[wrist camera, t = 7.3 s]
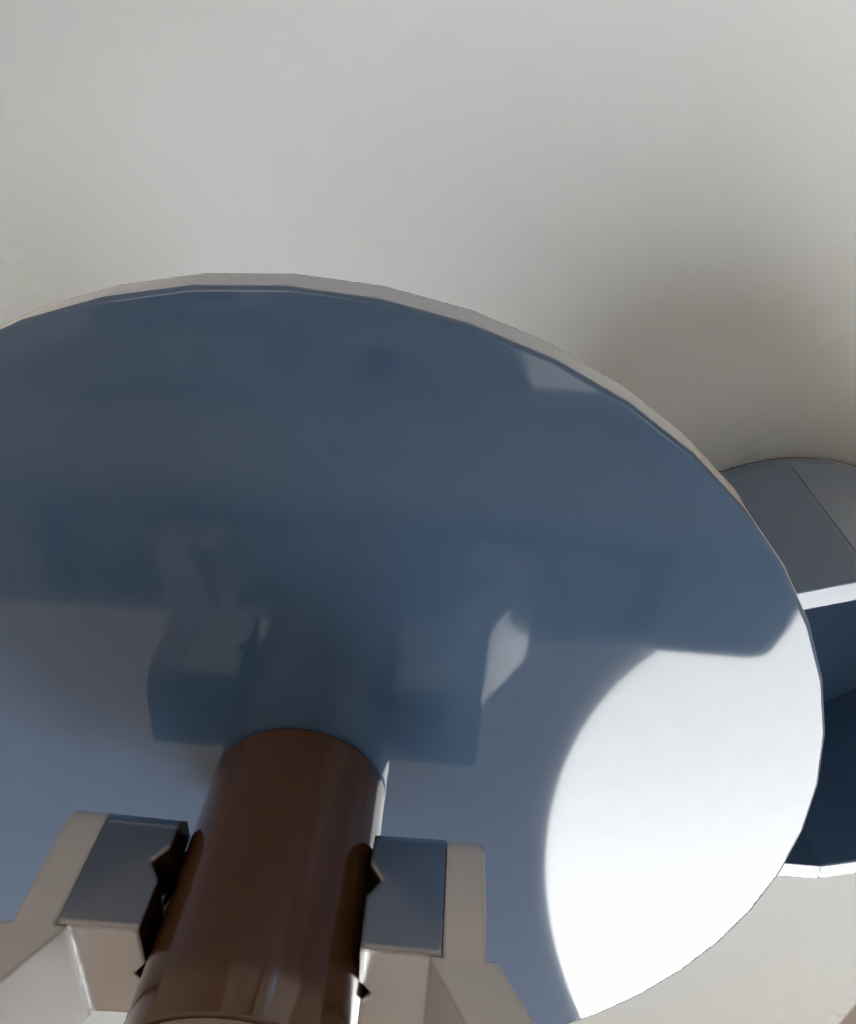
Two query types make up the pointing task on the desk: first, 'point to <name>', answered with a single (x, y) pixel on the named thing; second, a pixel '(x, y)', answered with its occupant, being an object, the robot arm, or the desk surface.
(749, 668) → the lid
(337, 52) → the desk surface
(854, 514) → the pot
